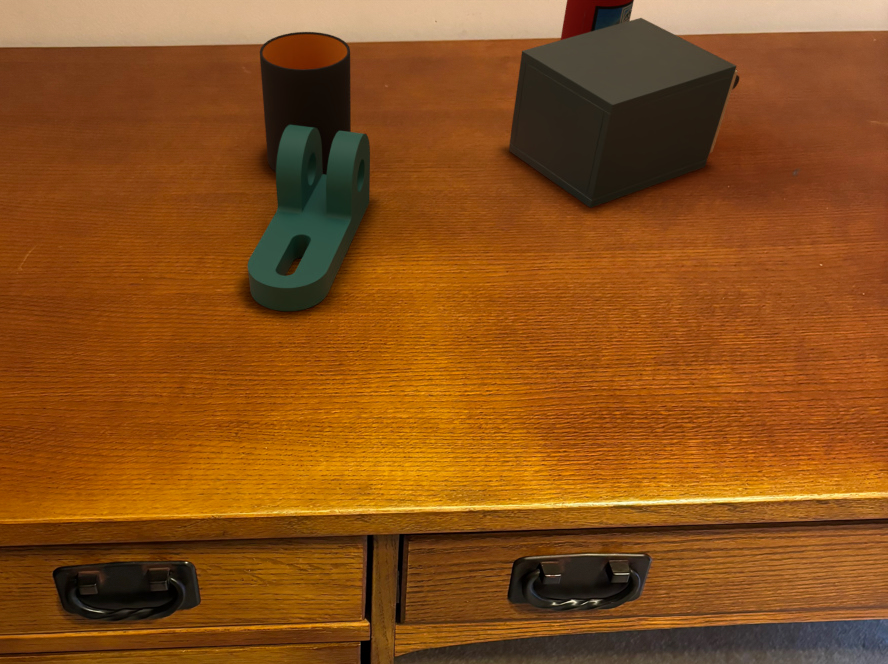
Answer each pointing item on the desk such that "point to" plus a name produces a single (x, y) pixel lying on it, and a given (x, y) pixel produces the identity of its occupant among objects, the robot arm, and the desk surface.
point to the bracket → (310, 218)
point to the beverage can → (594, 15)
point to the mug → (305, 88)
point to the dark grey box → (618, 109)
